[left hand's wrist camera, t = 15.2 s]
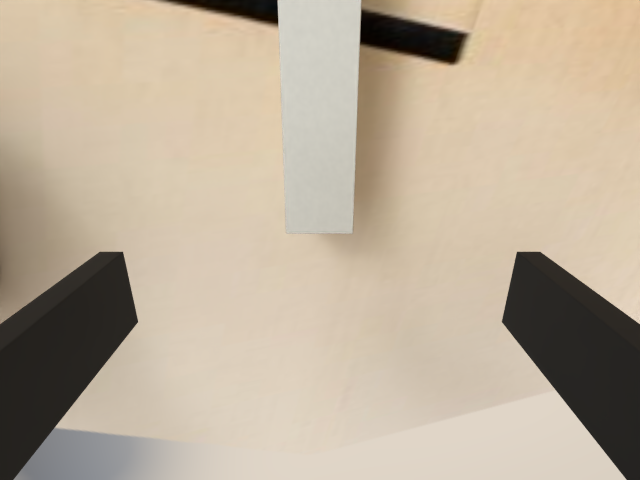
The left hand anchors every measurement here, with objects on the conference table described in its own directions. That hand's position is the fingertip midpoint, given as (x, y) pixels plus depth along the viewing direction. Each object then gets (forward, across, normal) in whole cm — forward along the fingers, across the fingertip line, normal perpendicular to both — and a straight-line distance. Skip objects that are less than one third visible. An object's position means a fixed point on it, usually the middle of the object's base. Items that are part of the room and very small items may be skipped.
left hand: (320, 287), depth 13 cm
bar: (+24, 0, -7) cm, 25 cm away
